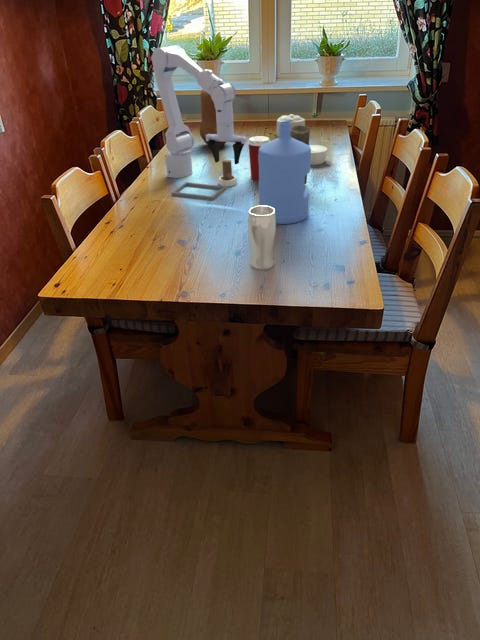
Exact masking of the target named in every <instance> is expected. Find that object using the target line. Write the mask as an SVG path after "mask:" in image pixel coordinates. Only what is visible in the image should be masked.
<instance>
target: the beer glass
mask: <svg viewBox="0 0 480 640" xmlns="http://www.w3.org/2000/svg"><path fill="white" fill-rule="evenodd" d="M247 218H248V219H247V222H248V223H247V227H248V229H247V230H248V232H247V233H248V236H249V241H250V242H249V243H250V246H251V260H250V266H251V267H252V268H253V269H254V270H260V271H263V270H264V271H265V270H270V269H271V268H272V267H274V265H275V262H274V261H275V260H274V257H273V248H274V243H275V239H276V238H275V237H276V233H277V224H276V217H275V209H274V208H272V207H270V206H259V205H255V206H253V207H250V208H249V209H248V216H247Z"/></svg>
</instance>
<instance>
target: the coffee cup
mask: <svg viewBox="0 0 480 640" xmlns="http://www.w3.org/2000/svg"><path fill="white" fill-rule="evenodd" d="M270 141H271V140H270V138H269V137H268V136H264V135H261V136H260V135H257V136H252V137H249V139H248V141H247V145H248V152H249V154H248V155H249V164H250V165H249V167H250V177H251V180H252V181H258V182H259V163H258V155H259V148H260V147H261V146H262V145H264V144H266V143H268V142H270Z"/></svg>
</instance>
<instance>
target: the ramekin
mask: <svg viewBox="0 0 480 640" xmlns="http://www.w3.org/2000/svg"><path fill="white" fill-rule="evenodd" d="M309 146H310V148H311V163H310V166H317V165H322V164H324V163H325V161H326V158H327V155H328V153H327V152H328V151H329V150H328V147H327V146H324V145H320V144H309Z"/></svg>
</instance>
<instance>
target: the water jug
mask: <svg viewBox="0 0 480 640" xmlns="http://www.w3.org/2000/svg"><path fill="white" fill-rule="evenodd" d="M290 124H291V122H288V121H283V122H280V136H279V137H277V138H275V139H273V140H270V142H268V143H266V144H264V145H262V146H261V147H260V148H259V155H258V163H259V181H258V193H259V194H258V196H259V197H258V201H259V202H258V203H259V205H258V206H270V207H272V208H274V209H275V217H276V225H290V224H296V223H299V222H301V221H304V220H305V219H306V218H307V217H308V215H309V209H310V206H309V204H310V203H309V201H310V199H309V198H310V193H309V191H308V189H306V187H305V185H306V184H305V176H306V175H307V176H308V174H309V173H310V172H311V165H310V163H311V148H310V146H309V145H310V144H309V145H307V144H305V143H303V142H301V141H298V140H296V139H294V138H292V137H291V136H290V131H291V128H290Z"/></svg>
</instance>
